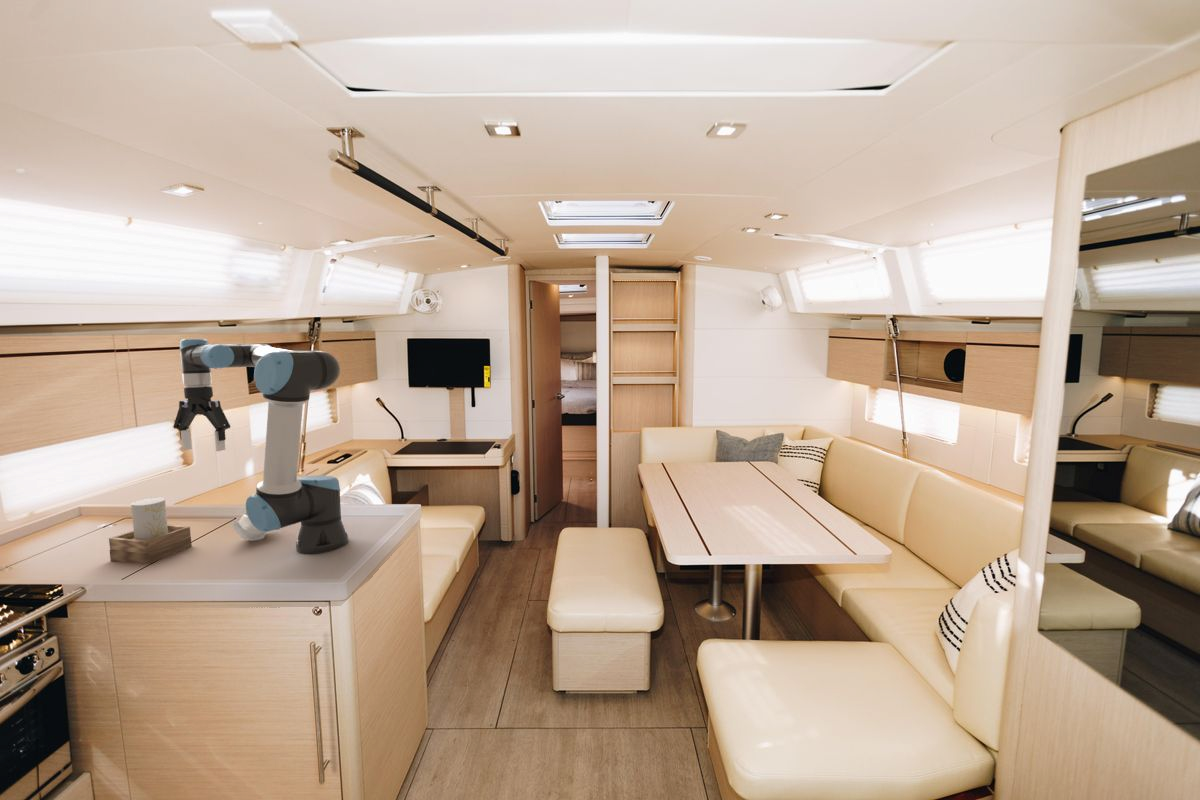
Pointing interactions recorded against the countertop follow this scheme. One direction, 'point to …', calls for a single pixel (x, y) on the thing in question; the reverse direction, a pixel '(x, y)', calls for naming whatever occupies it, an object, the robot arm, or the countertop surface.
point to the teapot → (247, 529)
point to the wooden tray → (131, 545)
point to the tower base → (151, 556)
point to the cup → (149, 518)
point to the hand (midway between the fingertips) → (203, 450)
